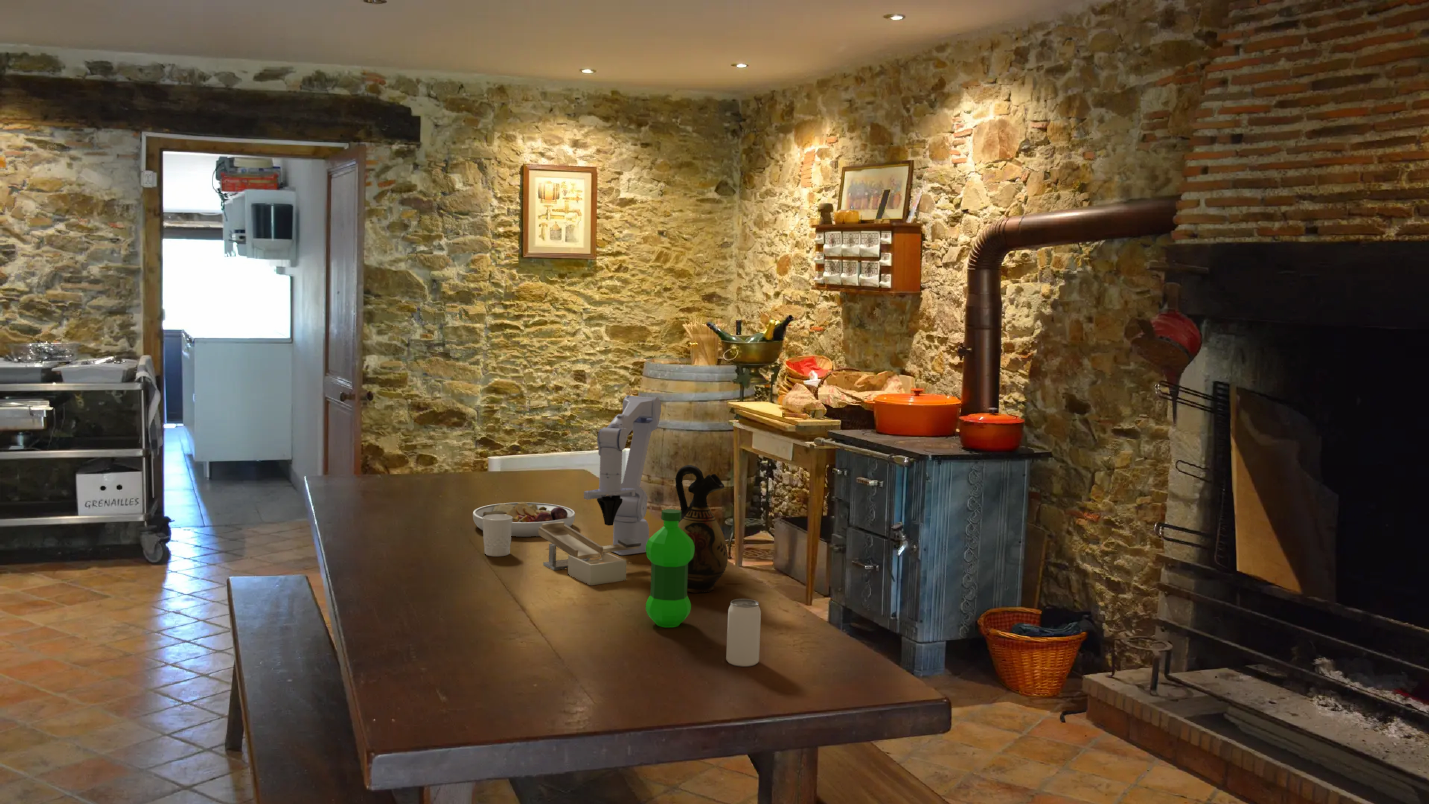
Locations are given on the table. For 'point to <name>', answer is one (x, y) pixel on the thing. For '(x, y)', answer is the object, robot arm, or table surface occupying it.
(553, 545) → the lever stand
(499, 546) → the white cup
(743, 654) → the can
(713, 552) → the ceramic jug
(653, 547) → the plastic bottle
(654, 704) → the table surface
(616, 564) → the cream open box
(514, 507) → the bowl
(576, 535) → the lever
